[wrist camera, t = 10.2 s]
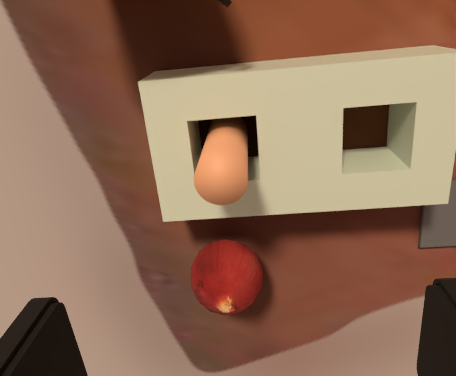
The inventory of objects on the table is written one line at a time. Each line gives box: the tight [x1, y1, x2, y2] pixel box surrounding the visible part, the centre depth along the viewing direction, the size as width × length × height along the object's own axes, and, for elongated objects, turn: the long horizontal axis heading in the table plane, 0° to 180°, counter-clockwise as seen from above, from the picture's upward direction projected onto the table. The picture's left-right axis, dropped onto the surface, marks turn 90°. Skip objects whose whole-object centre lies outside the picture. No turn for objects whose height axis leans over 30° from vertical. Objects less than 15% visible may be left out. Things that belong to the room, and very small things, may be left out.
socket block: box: [138, 45, 456, 222], centre depth 28 cm, size 20×10×5 cm, turn 95°
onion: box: [191, 239, 263, 315], centre depth 32 cm, size 6×6×8 cm
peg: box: [194, 117, 248, 205], centre depth 27 cm, size 3×3×10 cm
